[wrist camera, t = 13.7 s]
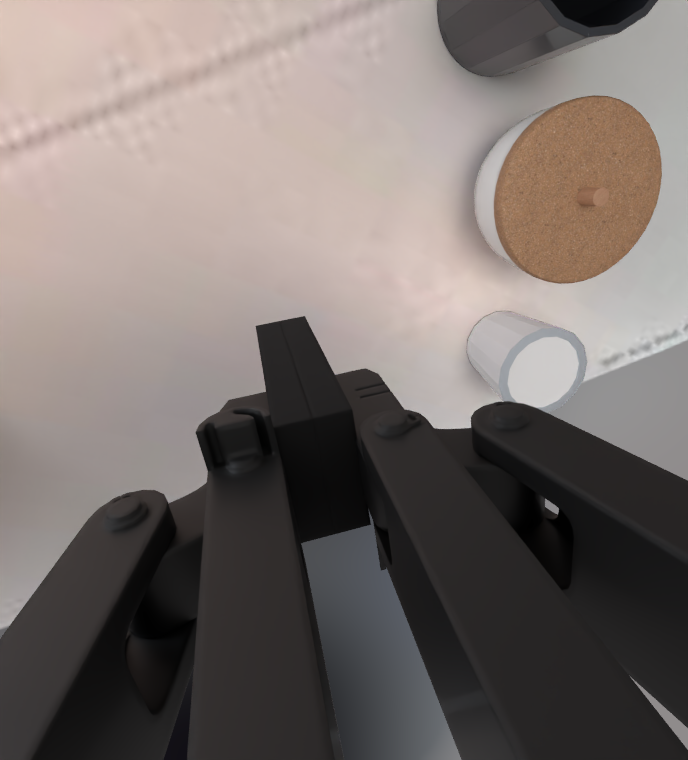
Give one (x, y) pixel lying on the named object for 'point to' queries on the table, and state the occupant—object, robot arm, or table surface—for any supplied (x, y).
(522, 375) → the white cylinder
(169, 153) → the table surface
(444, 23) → the pen cup
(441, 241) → the table surface
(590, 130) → the trinket box
